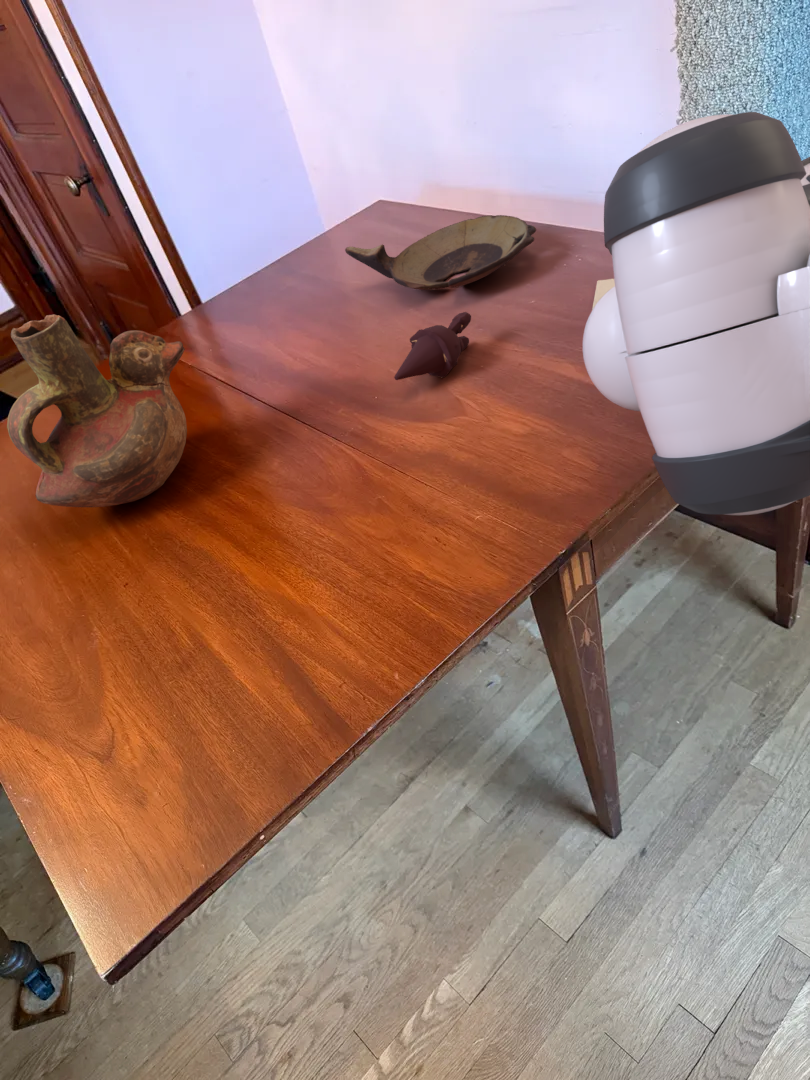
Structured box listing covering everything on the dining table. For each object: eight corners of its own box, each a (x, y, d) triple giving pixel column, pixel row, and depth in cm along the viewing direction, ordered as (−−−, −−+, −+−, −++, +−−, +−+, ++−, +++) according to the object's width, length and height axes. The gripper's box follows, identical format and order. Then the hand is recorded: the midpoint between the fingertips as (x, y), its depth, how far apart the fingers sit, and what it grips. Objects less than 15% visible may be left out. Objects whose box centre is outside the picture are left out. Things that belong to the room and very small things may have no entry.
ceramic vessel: (256, 445, 102) (171, 273, 85) (92, 563, 92) (-40, 394, 76) (196, 412, 113) (110, 254, 96) (44, 514, 103) (-80, 357, 87)
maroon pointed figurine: (416, 367, 93) (491, 316, 100) (373, 344, 96) (449, 296, 103) (416, 411, 98) (487, 359, 105) (376, 387, 101) (447, 338, 108)
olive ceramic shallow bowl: (497, 314, 110) (487, 264, 105) (343, 303, 127) (328, 260, 122) (561, 242, 122) (556, 195, 117) (412, 241, 138) (402, 200, 133)
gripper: (865, 186, 83) (752, 174, 93) (749, 271, 77) (641, 249, 86) (856, 241, 87) (749, 224, 97) (746, 325, 81) (644, 299, 91)
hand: (697, 236), depth 91 cm, fingers open, 8 cm apart
